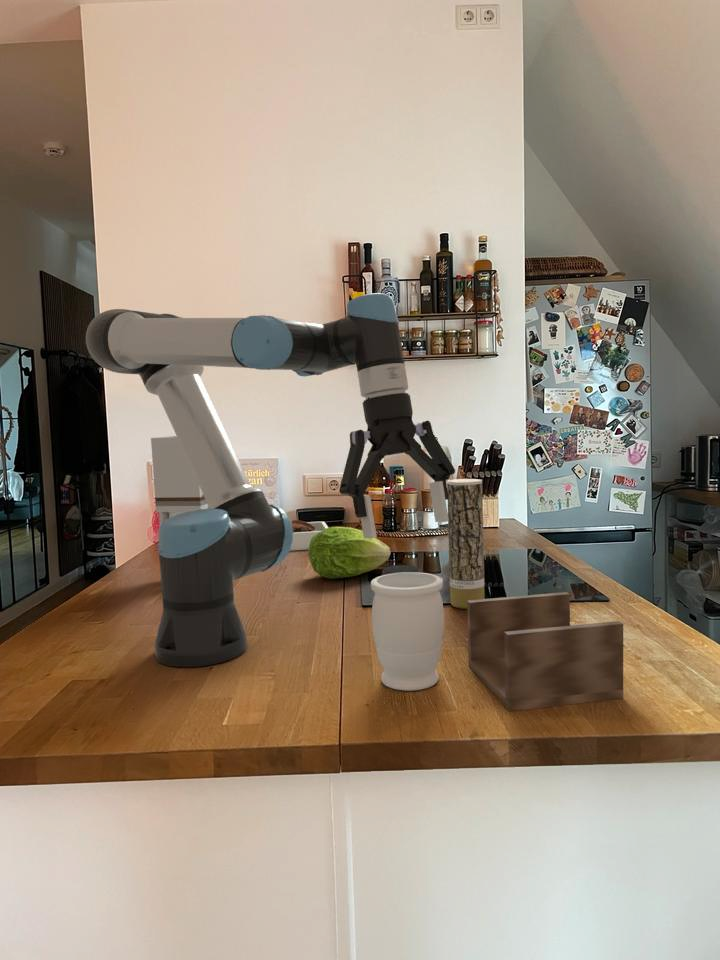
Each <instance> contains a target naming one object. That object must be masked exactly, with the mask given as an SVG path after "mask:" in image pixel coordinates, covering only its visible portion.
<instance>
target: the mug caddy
mask: <svg viewBox="0 0 720 960" xmlns="http://www.w3.org/2000/svg"><path fill="white" fill-rule="evenodd" d="M307 523H309V524H311V525H312V526H314V527H315V529H314V531H312V532H297V533H293V541H292V544H291V547H290V548H291V549H290V551H289V552H291V551H292V552H293V551H304V550H305V551H306V550H307V551H308V550H309V545H310V541H311V538H312V537H313V536H315V535H316V534H318V533H319V532H321V531H323V530H325V529H327V528H329V526H328V525H327V523H326V522H325V520H324V521H323V520H322V521H310V522H308V521H307ZM291 524H292V522H291Z"/></svg>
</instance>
